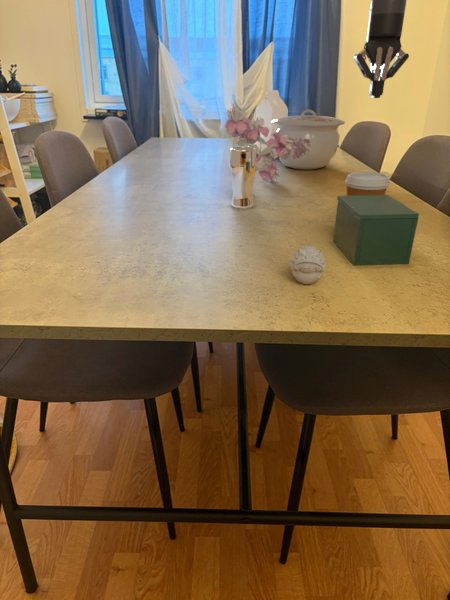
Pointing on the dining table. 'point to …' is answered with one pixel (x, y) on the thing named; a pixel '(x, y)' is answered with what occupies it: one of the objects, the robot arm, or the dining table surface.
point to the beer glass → (242, 175)
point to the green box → (374, 238)
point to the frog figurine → (307, 265)
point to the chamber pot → (309, 139)
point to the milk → (270, 114)
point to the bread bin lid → (377, 207)
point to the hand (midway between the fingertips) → (375, 97)
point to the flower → (251, 133)
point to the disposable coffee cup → (366, 183)
